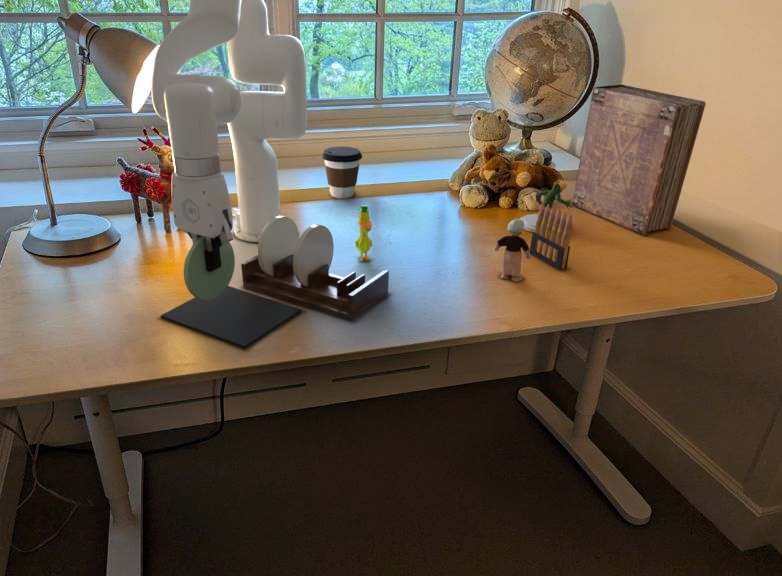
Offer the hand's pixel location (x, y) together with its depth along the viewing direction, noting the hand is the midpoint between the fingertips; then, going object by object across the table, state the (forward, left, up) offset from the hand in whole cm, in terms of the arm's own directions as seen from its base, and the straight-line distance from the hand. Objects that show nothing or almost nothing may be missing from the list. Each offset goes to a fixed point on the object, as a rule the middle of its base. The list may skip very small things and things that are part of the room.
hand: (210, 267), depth 115 cm
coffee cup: (-18, +70, -9) cm, 73 cm away
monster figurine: (+37, +78, -9) cm, 87 cm away
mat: (+4, 0, -9) cm, 9 cm away
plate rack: (+11, +17, -9) cm, 22 cm away
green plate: (0, 0, 0) cm, 0 cm away
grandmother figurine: (+41, +44, -9) cm, 61 cm away
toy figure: (+11, +35, -9) cm, 38 cm away
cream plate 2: (+11, +17, -1) cm, 20 cm away
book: (+51, +95, -9) cm, 109 cm away
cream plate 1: (+2, +17, -1) cm, 17 cm away
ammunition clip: (+45, +57, -9) cm, 73 cm away
